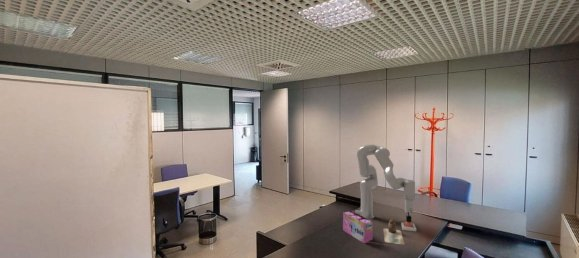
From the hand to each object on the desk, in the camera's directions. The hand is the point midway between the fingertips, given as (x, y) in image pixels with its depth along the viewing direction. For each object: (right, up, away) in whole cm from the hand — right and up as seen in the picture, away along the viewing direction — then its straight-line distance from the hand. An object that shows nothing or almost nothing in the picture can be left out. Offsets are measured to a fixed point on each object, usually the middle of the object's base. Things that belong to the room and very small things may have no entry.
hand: (408, 221), depth 188 cm
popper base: (0, -6, 0) cm, 6 cm away
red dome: (0, -6, 0) cm, 6 cm away
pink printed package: (-41, -7, -9) cm, 42 cm away
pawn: (-15, -5, -6) cm, 17 cm away
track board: (-17, -7, -12) cm, 22 cm away
